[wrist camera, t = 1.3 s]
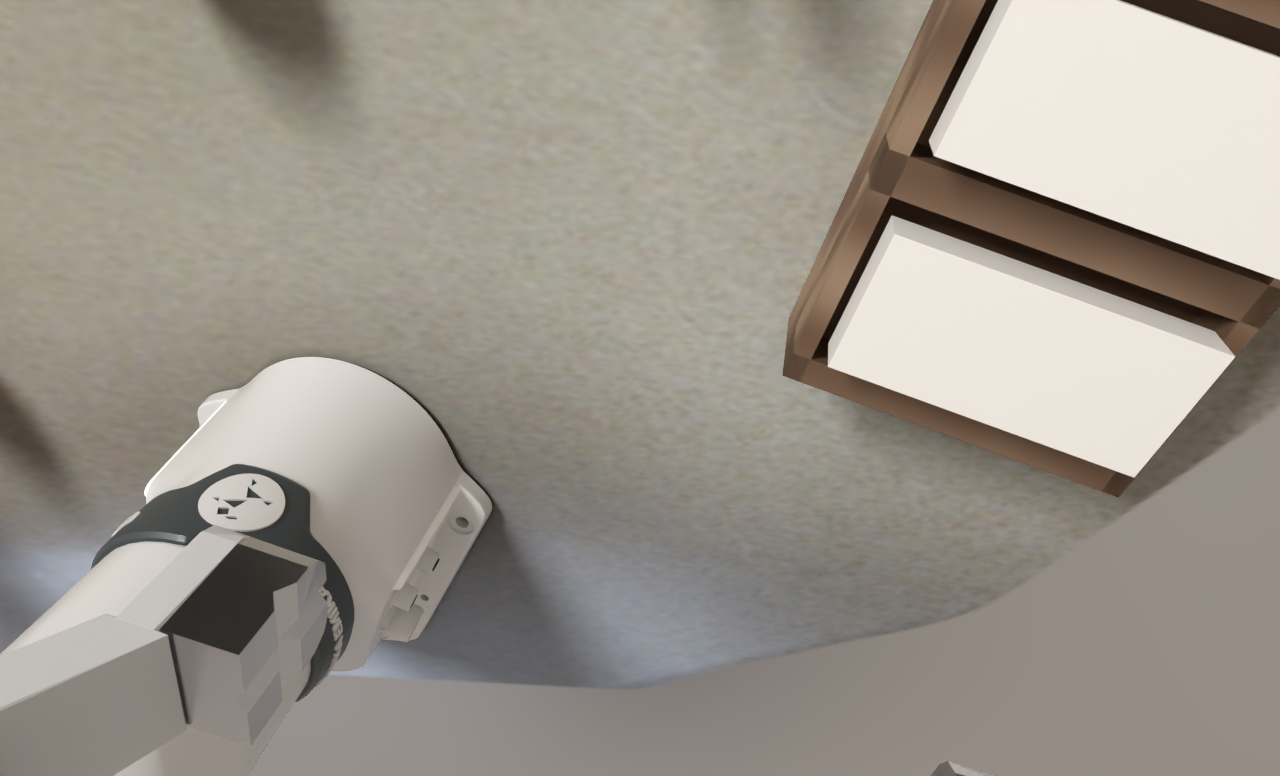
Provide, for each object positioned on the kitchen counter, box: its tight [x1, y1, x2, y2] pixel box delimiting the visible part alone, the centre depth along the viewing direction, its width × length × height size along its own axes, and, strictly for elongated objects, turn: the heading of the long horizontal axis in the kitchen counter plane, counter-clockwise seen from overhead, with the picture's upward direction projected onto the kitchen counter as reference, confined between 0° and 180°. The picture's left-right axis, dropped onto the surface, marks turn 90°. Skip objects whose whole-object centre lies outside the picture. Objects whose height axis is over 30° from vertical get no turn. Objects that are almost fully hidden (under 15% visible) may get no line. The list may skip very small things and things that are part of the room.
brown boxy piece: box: [783, 0, 1280, 497], centre depth 30 cm, size 28×16×6 cm, turn 163°
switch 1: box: [929, 0, 1280, 280], centre depth 27 cm, size 6×13×2 cm, turn 73°
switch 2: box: [828, 216, 1235, 477], centre depth 32 cm, size 6×13×2 cm, turn 73°
